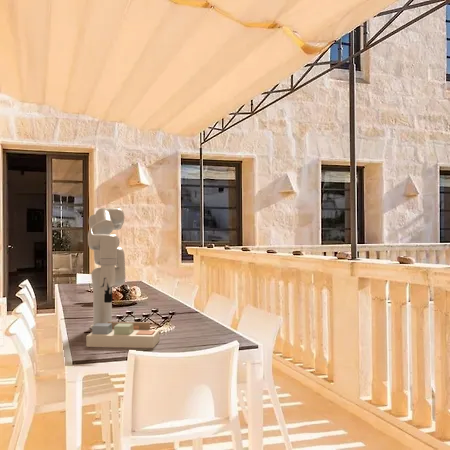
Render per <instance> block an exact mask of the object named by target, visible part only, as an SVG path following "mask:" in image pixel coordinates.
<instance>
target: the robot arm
mask: <svg viewBox="0 0 450 450" xmlns="http://www.w3.org/2000/svg"><path fill="white" fill-rule="evenodd" d="M124 223H125V213H124V211H123V210H122V208H118V207H117V208H116V207H103V208H101V207H100V208H99V209H97V210H96V212H95V214H91V215H90V216H88V228H89V229H88V232H87V245H88V248H89V249H90V250H92V251H93V261H94V263H95V264H96V265H98V266H100V267H96V268H94V269H93V270H92V271H91V283H92V293H93V294H92V297H93V298H92V303H93V304H92V307H93V308H92V309H93V311H92V312H93V313H92V314H93V315H92V321H93V322H92V324H91V325H89V327H90V330H92V326H93V325H95V324H97V323H108V322H113V315H112V314H113V312H112V311H113V310H112V309H113V305H112V303H113V287H114V286H121V285H124V284H125V282H126V258H125V257H126V256H125V251H124V249H123V248H122V247H120V238H119V236H118V235H117V234H115V233H112V232H113V231H118V230H121V229H122V227H123V225H124Z"/></svg>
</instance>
